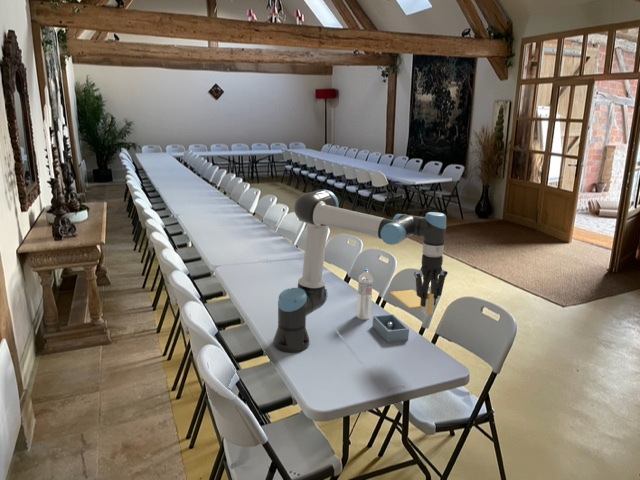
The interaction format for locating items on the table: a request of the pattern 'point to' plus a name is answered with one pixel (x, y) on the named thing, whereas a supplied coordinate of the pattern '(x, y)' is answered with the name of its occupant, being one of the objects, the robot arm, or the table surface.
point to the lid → (413, 299)
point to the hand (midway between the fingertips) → (427, 313)
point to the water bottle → (364, 296)
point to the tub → (396, 334)
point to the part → (390, 325)
